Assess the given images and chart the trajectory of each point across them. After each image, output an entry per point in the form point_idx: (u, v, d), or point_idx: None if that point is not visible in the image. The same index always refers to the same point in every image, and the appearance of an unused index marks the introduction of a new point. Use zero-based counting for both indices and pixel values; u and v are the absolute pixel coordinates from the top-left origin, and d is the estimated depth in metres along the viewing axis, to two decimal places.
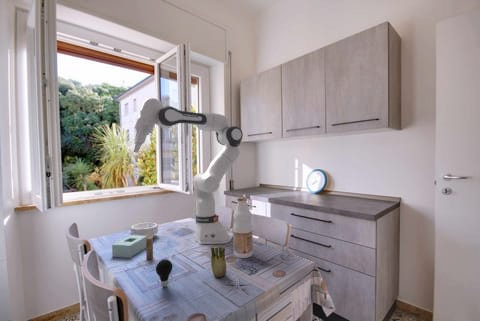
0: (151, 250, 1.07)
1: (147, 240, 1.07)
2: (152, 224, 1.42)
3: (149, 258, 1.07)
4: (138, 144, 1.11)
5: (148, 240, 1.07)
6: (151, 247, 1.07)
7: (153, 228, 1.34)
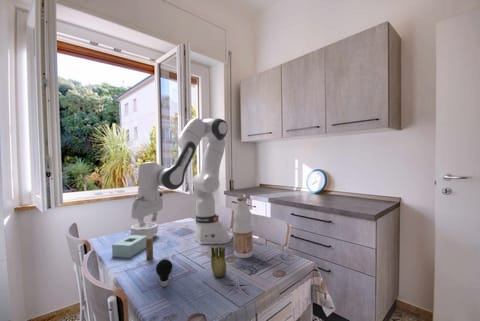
0: (151, 250, 1.07)
1: (147, 240, 1.07)
2: (152, 224, 1.42)
3: (149, 258, 1.07)
4: (139, 219, 1.02)
5: (148, 240, 1.07)
6: (151, 247, 1.07)
7: (153, 228, 1.34)
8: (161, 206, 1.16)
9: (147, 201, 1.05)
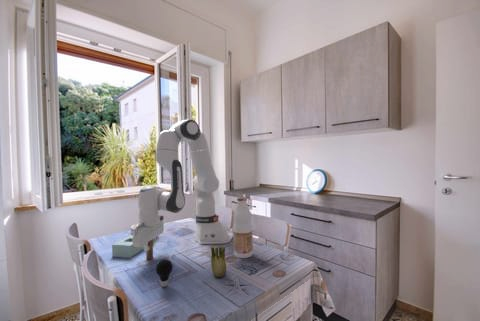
0: (151, 250, 1.07)
1: None
2: None
3: (149, 258, 1.07)
4: (143, 244, 1.04)
5: None
6: (151, 247, 1.07)
7: None
8: (162, 229, 1.16)
9: (148, 227, 1.05)
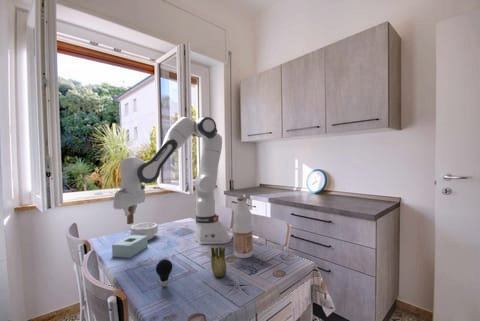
0: (131, 216, 1.15)
1: None
2: (152, 224, 1.42)
3: (129, 222, 1.15)
4: (124, 209, 1.12)
5: None
6: (131, 213, 1.15)
7: (153, 228, 1.34)
8: (143, 198, 1.24)
9: (129, 193, 1.13)
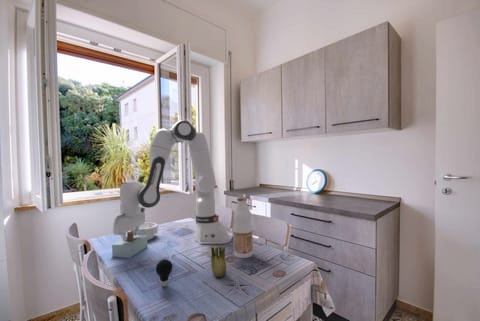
0: None
1: (128, 234, 1.16)
2: (152, 224, 1.42)
3: None
4: (121, 234, 1.11)
5: (129, 234, 1.16)
6: (131, 241, 1.16)
7: (153, 228, 1.34)
8: (143, 220, 1.25)
9: (128, 217, 1.14)
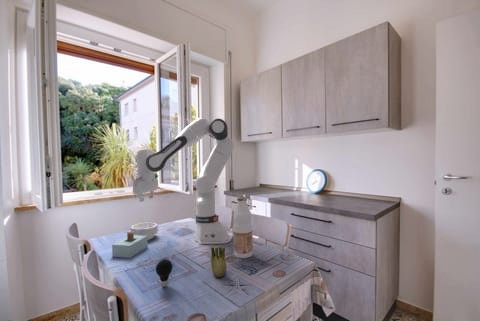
0: None
1: (128, 234, 1.16)
2: (152, 224, 1.42)
3: None
4: (139, 195, 1.25)
5: (129, 234, 1.16)
6: (131, 241, 1.16)
7: (153, 228, 1.34)
8: (157, 186, 1.40)
9: (145, 181, 1.28)
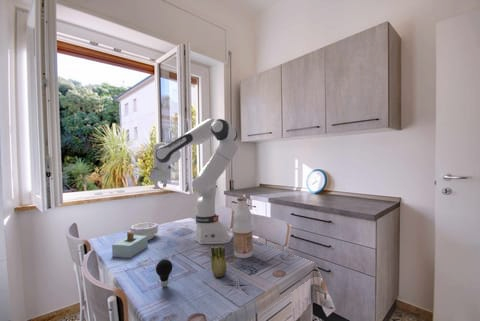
0: None
1: (128, 234, 1.16)
2: (152, 224, 1.42)
3: None
4: (154, 183, 1.42)
5: (129, 234, 1.16)
6: (131, 241, 1.16)
7: (153, 228, 1.34)
8: (169, 176, 1.56)
9: (160, 170, 1.45)
